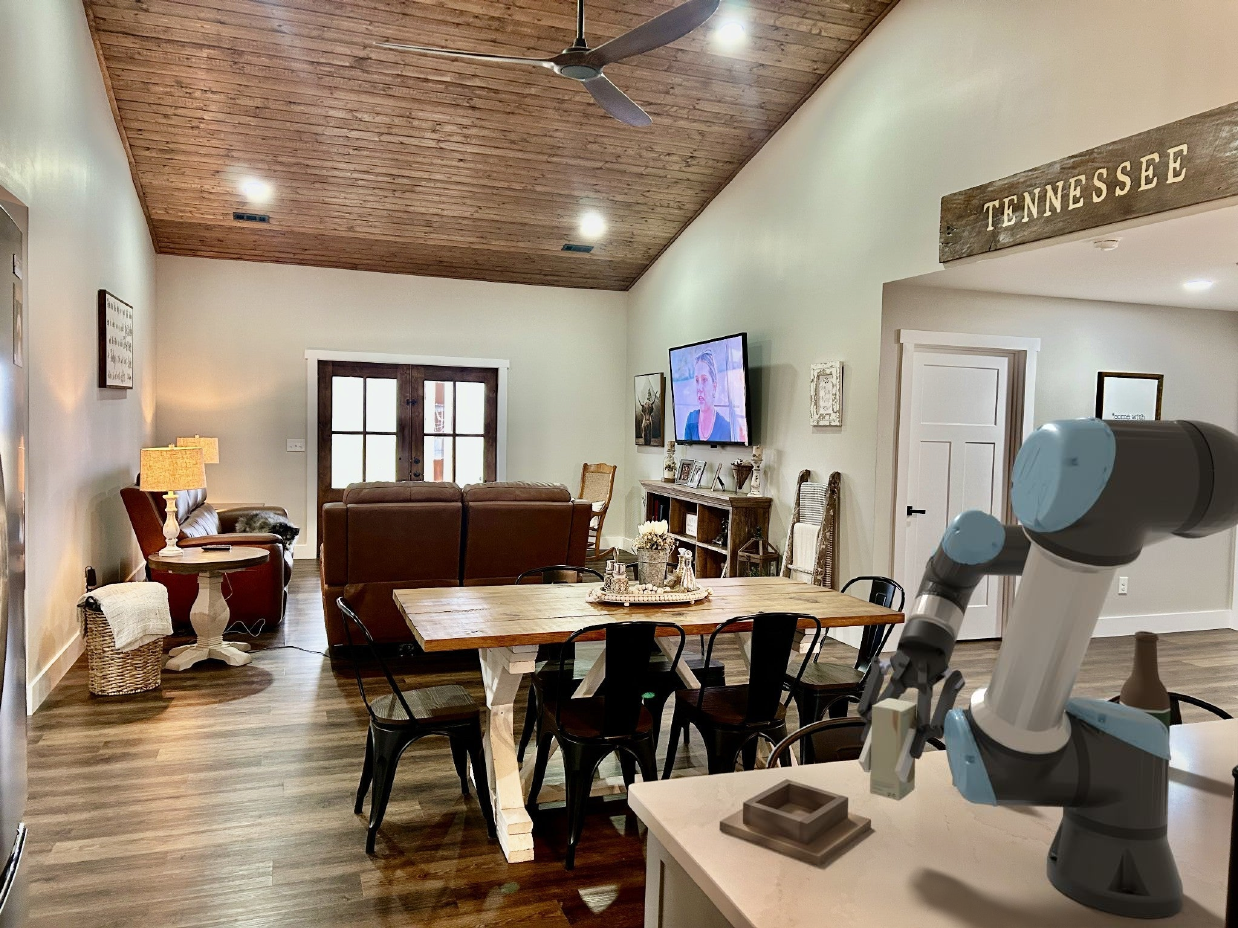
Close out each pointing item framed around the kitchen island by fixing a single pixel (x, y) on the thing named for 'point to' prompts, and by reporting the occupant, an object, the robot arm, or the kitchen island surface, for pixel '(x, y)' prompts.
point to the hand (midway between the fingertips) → (881, 771)
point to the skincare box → (890, 747)
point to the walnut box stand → (797, 821)
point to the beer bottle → (1146, 681)
